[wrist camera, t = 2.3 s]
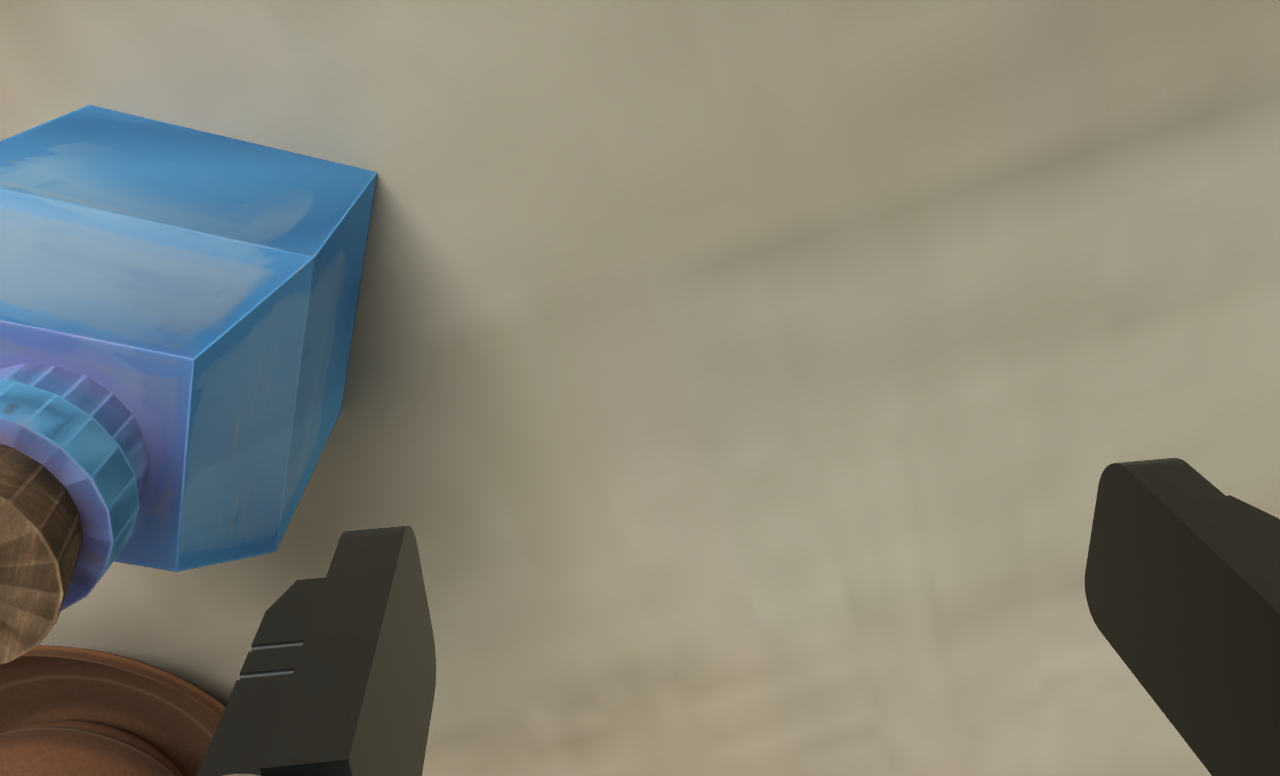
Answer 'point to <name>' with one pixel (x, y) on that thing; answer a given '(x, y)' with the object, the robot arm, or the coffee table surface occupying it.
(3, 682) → the cup and saucer
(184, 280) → the perfume bottle
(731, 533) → the coffee table surface
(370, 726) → the robot arm
